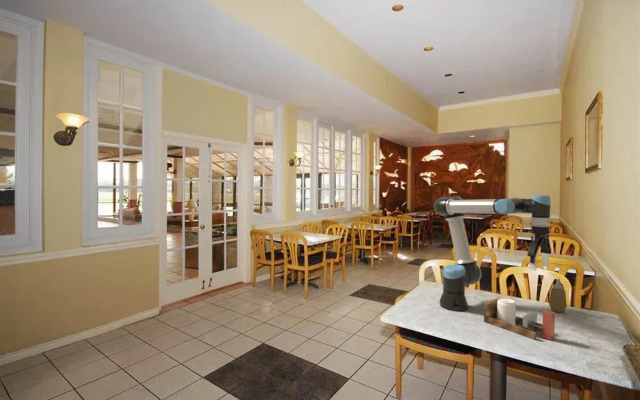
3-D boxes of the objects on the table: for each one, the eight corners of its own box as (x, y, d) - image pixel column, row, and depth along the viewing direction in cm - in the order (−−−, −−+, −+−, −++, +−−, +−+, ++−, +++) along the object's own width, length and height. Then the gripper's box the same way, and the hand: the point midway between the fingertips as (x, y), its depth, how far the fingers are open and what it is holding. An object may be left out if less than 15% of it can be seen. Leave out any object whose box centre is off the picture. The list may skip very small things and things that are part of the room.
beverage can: (517, 327, 157) (518, 303, 157) (500, 326, 159) (500, 302, 158) (511, 321, 165) (512, 298, 165) (494, 319, 167) (495, 297, 166)
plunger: (522, 332, 151) (523, 308, 151) (532, 328, 156) (532, 303, 156) (547, 342, 142) (548, 315, 142) (557, 336, 147) (557, 310, 147)
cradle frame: (483, 321, 164) (484, 302, 164) (498, 315, 172) (498, 297, 172) (534, 339, 145) (535, 318, 144) (548, 332, 152) (548, 311, 152)
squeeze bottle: (551, 312, 177) (551, 280, 176) (546, 307, 184) (547, 276, 184) (568, 314, 174) (569, 281, 173) (563, 309, 181) (564, 278, 181)
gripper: (537, 228, 150) (536, 273, 150) (559, 225, 163) (558, 266, 164) (520, 226, 156) (519, 269, 157) (543, 223, 170) (542, 263, 170)
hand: (539, 268), depth 160 cm, fingers open, 13 cm apart
